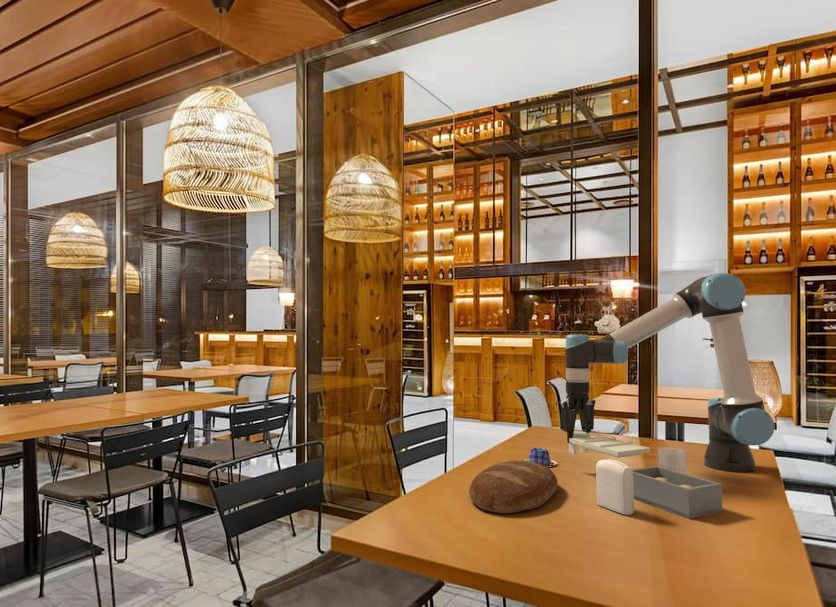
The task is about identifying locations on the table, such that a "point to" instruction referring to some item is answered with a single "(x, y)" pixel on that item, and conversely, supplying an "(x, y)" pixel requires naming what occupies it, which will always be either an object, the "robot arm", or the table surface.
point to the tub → (677, 492)
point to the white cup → (673, 459)
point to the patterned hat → (540, 456)
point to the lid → (608, 445)
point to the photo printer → (615, 486)
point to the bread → (513, 486)
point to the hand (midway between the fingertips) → (578, 452)
